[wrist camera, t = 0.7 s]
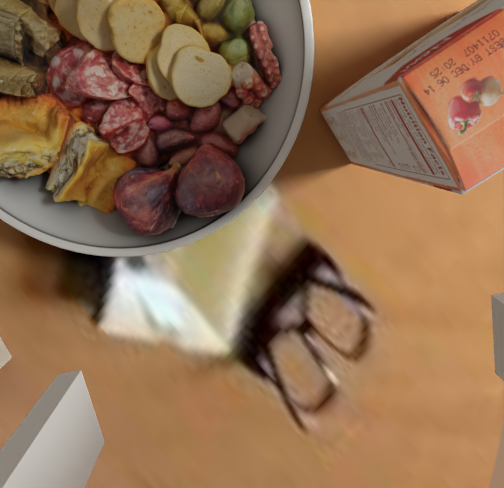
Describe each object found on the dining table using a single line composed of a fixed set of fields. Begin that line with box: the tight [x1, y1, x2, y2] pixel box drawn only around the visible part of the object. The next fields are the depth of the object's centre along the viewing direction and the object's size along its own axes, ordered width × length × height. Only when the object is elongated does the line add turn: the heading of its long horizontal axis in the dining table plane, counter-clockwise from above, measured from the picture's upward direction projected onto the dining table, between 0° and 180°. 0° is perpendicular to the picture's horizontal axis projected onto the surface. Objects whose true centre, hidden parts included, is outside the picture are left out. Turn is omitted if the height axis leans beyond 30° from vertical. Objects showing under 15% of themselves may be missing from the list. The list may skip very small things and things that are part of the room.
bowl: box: [0, 0, 314, 257], centre depth 32 cm, size 30×30×8 cm
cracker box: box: [320, 0, 504, 194], centre depth 26 cm, size 14×6×21 cm, turn 124°
